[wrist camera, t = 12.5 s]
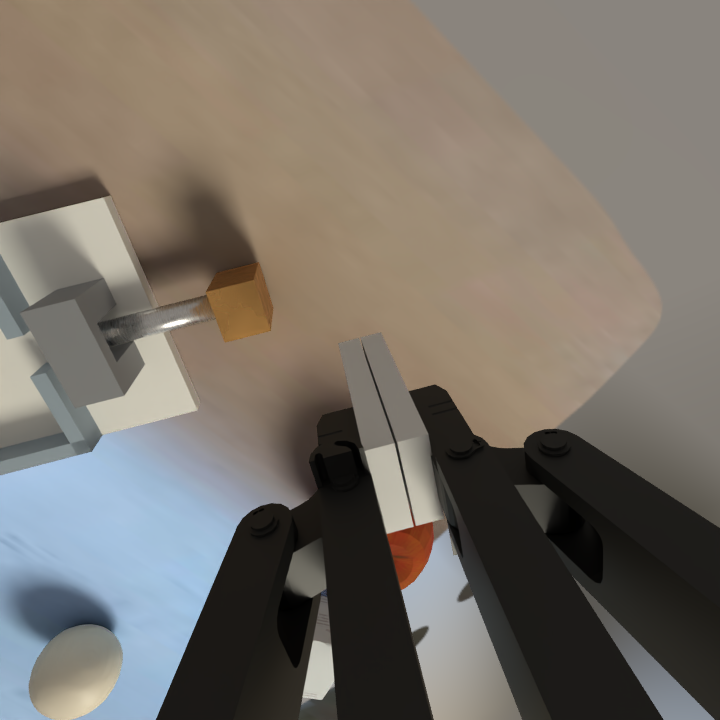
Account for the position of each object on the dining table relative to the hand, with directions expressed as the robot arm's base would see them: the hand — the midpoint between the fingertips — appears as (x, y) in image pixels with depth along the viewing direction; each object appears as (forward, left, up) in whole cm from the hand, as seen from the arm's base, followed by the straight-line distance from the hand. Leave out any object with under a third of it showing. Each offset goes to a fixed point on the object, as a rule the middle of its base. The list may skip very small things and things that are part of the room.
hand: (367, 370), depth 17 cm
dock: (-23, 0, -16) cm, 28 cm away
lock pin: (-10, 0, -16) cm, 19 cm away
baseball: (-30, -28, -17) cm, 44 cm away
